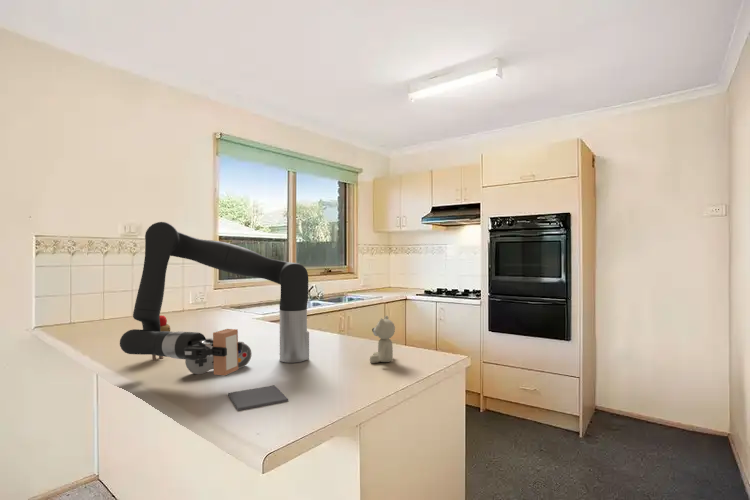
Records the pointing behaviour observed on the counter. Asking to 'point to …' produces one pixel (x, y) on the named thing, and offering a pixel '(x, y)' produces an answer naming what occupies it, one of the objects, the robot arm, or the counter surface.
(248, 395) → the mat
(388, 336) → the toy
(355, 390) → the counter surface
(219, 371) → the box
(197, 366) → the game controller
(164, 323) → the toy
